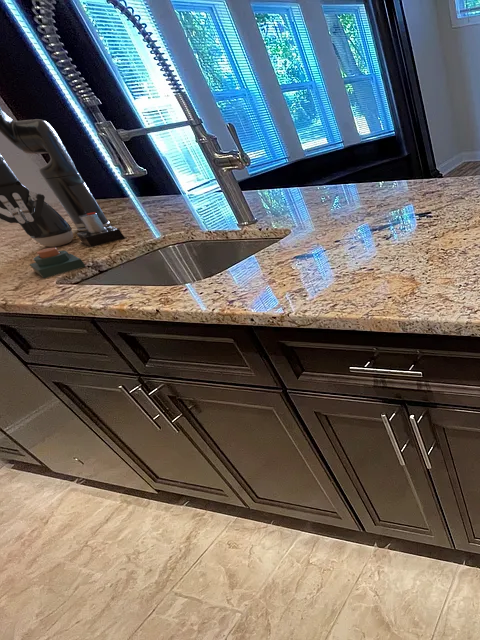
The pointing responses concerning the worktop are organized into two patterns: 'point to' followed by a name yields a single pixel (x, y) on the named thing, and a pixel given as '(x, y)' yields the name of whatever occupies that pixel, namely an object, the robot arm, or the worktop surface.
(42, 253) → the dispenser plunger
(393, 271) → the worktop surface
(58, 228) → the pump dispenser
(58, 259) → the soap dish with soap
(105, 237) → the faucet panel
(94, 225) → the faucet dial
